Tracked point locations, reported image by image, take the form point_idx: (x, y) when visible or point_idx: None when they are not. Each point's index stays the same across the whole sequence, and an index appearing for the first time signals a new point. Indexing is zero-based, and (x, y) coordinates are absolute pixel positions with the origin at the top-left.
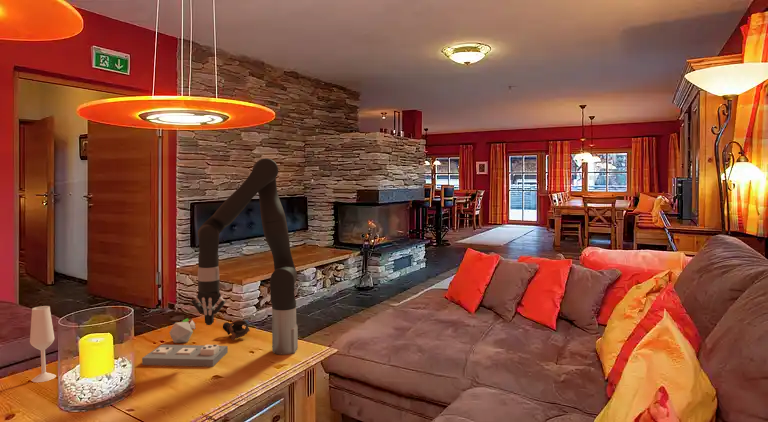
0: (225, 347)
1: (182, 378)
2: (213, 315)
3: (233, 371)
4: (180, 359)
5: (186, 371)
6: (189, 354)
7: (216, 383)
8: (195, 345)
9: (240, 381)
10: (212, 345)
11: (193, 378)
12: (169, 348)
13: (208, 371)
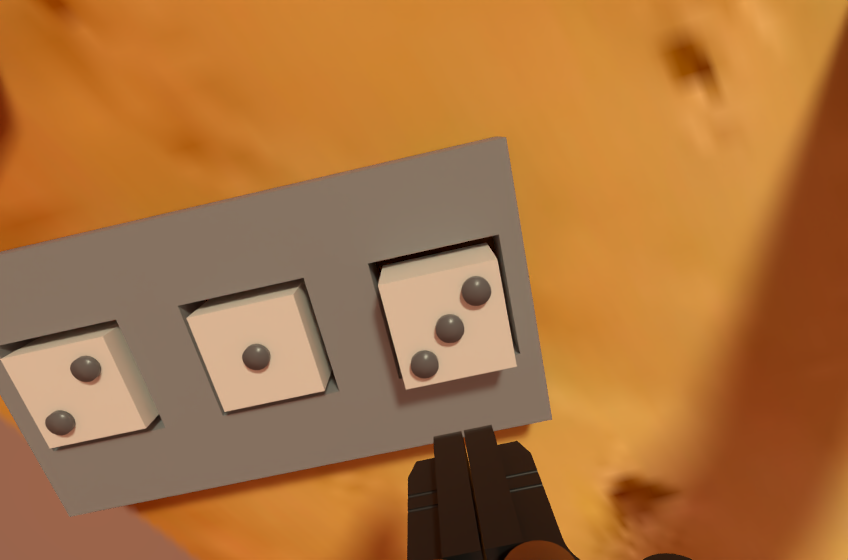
0: (508, 177)
1: None
2: (562, 544)
3: (701, 419)
4: (326, 462)
5: None
6: (324, 385)
7: None
8: (220, 208)
9: (792, 510)
10: (447, 288)
11: None
12: (97, 359)
13: (552, 456)
